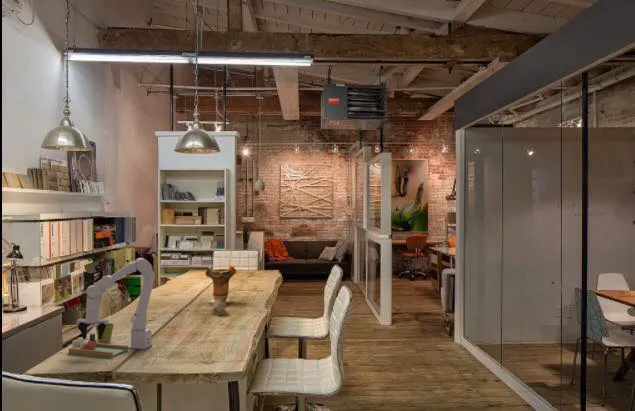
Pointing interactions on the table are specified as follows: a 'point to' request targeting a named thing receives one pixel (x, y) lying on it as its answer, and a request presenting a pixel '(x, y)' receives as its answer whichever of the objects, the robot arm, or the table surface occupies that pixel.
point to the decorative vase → (220, 282)
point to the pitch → (101, 350)
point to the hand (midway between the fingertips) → (92, 338)
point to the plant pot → (105, 333)
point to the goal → (78, 343)
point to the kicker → (91, 343)
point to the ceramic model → (218, 308)
